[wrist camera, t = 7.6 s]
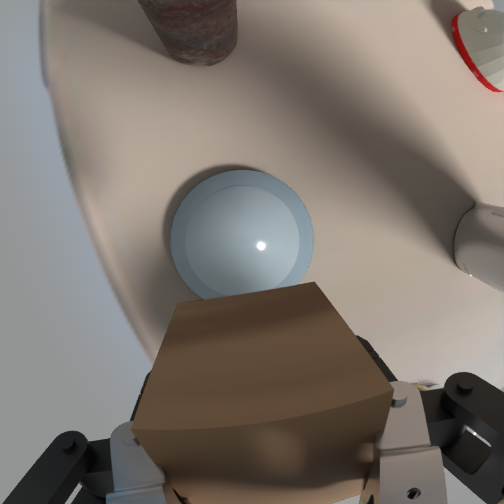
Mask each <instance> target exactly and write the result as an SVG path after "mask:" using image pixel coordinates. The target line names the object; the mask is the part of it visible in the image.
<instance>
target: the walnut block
mask: <svg viewBox="0 0 504 504" xmlns="http://www.w3.org/2000/svg"><path fill="white" fill-rule="evenodd" d="M393 393H394V388H393V387H392V385H391V384H390V383H389V381H388V380H387V378H386V377H385V376H384V374H383V373H382V371H381V370H380V369H379V367H378V366H377V365H376V363H375V362H374V360H373V359H372V358H371V356H370V355H369V353H368V352H367V351H366V349H365V348H364V347H363V345H362V344H361V343H360V341H359V340H358V338H357V337H356V336H355V334H354V333H353V332H352V330H351V329H350V328H349V326H348V325H347V324H346V322H345V321H344V320H343V318H342V317H341V316H340V314H339V313H338V312H337V310H336V309H335V308H334V306H333V305H332V304H331V302H330V301H329V300H328V298H327V297H326V296H325V295H324V293H323V292H322V291H321V289H320V288H319V287H318V285H317V284H316V283H315V282H310V283H304V284H299V285H293V286H287V287H281V288H275V289H269V290H263V291H257V292H251V293H244V294H238V295H231V296H225V297H218V298H211V299H204V300H197V301H189V302H182V303H178V304H177V307H176V309H175V312H174V314H173V317H172V319H171V322H170V324H169V327H168V329H167V332H166V334H165V337H164V339H163V342H162V344H161V347H160V349H159V352H158V355H157V357H156V360H155V362H154V365H153V368H152V370H151V373H150V376H149V379H148V381H147V384H146V387H145V389H144V392H143V395H142V398H141V401H140V403H139V406H138V409H137V412H136V415H135V418H134V421H133V424H132V427H131V430H132V432H133V433H134V435H135V436H136V438H137V439H138V441H139V442H140V444H141V445H142V447H143V448H144V450H145V451H146V453H147V454H148V455H149V457H150V458H151V460H152V461H153V462H154V463H158V464H162V466H163V467H164V469H165V470H166V471H167V473H168V475H169V478H170V481H171V485H172V487H173V488H174V489H175V491H176V492H177V493H178V494H179V495H180V497H181V498H188V499H189V500H190V502H191V503H192V504H329V503H333V502H337V501H340V500H344V499H347V498H350V497H354V496H357V495H360V494H361V486H362V478H363V475H364V472H366V471H369V470H371V469H372V461H373V441H374V437H375V433H376V432H377V431H380V430H383V429H385V426H386V423H387V419H388V415H389V411H390V407H391V402H392V398H393Z"/></svg>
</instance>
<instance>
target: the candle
mask: <svg viewBox="0 0 504 504" xmlns="http://www.w3.org/2000/svg"><path fill="white" fill-rule="evenodd" d="M138 2H139V3H140V5H141V7H142V8H143V10H144V12H145V13H146V15H147V17H148V19H149V20H150V22H151V24H152V25H153V27H154V29H155V31H156V32H157V34H158V36H159V37H160V39H161V40H162V42H163V44H164V45H165V47H166V49H167V50H168V51H169V53H170V54H171V55H172V56H173V57H174V58H176V59H177V60H179V61H181V62H183V63H185V64H190V65H207V66H209V65H214V64H216V63H218V62H220V61H222V60H223V59H225V58H226V57H227V56H228V55H229V54H230V53H231V52H232V50H233V49H234V47H235V46H236V43H237V8H236V0H138Z"/></svg>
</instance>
